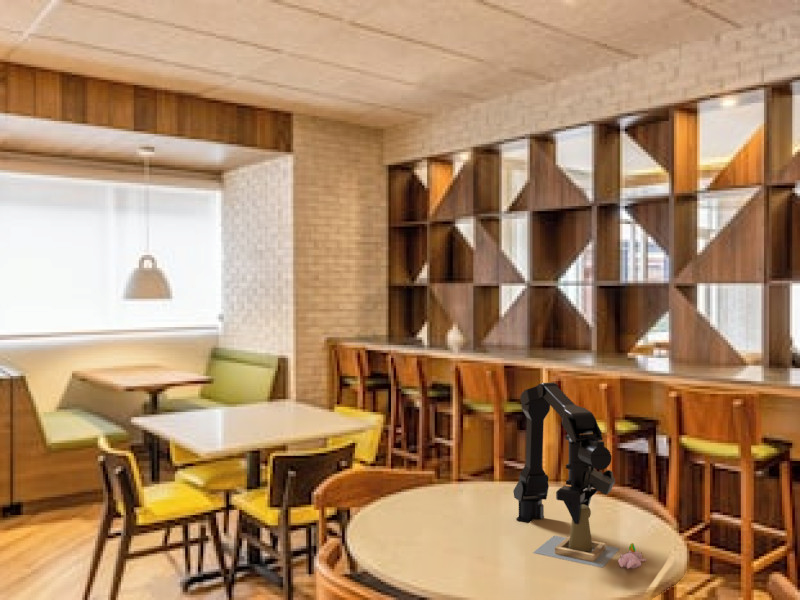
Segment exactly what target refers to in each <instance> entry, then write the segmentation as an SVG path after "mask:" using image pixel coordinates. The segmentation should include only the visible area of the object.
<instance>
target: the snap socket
mask: <svg viewBox="0 0 800 600" xmlns="http://www.w3.org/2000/svg"><path fill="white" fill-rule="evenodd" d="M565 538H566V539H564V540H563V541H562V542H561V543H560V544H559V545H557V546H556V547H555V554H559V555H564V556H569V557H574V558H578V559H583V560H588V561H593V562H594V561H595V560H596V559H597V558H598V557H599V556H600V555H601V553H602V552H603V551H604V550H605V549H606V546H607V544H606V542H601V541H595V540H592V547H593V548H594V550H593V551H592V552H591V553H587V552H582V551H577V550H573V549H568V548H567V547H568V546H569V539H570V535H568V536H567V537H565Z"/></svg>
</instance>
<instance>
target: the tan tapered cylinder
mask: <svg viewBox="0 0 800 600" xmlns="http://www.w3.org/2000/svg"><path fill="white" fill-rule="evenodd" d="M591 515H592V510H591V508H590V506H589V507H588V506H587V505H584V504H582V507H581V514H580V520H579V524H575V523H574V521H573V519H572V518H571V523H570V524H571V525H570V533H569V536H570V539H569V548H570V549H573V550H577V551H582V552H589V551H591V550H592V549H593V547H592V541H593V540H592V534H591V533H592V532H591V528H590V527H591V526H590V517H591Z"/></svg>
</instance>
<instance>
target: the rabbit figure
mask: <svg viewBox="0 0 800 600" xmlns="http://www.w3.org/2000/svg"><path fill="white" fill-rule="evenodd" d="M634 544H635V543H633V542H632V543H631V544H630V545H629V547H628V552H627V553H625V554H620V558H619V559H618V564H619V566H620V568H623V567H624V568H626V569H636V568H639V567H641V566H642V562H646V561H647V558H643V551H640V552H639V551H636V547H635V545H634Z"/></svg>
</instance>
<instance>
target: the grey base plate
mask: <svg viewBox="0 0 800 600" xmlns="http://www.w3.org/2000/svg"><path fill="white" fill-rule="evenodd" d="M566 538H567V537H563V536H558V535H552V537H550V538H549V539H548V540H546V541H545V542H544V543H543V544H541V545H540V546H539V547H538V548H536V549H535V550H534V551H533V552H532V554H536V555H541V556H546V557H550V558H553V559H559V560H564V561H567V562H568V561H570V562H574V563H578V564H582V565H587V566H592V567H595V568H604V567H605V566H606V565H607V564H608V562H610V560H611V559H612V558H613V557H614V556H615V554H617V552H618V551H620V549H621V548H620V547H615V546H610V545H606V549H605V550H604V551H603V552H602V553H601V555H600V556H599V557H598V558H597V559H596V560H595V561H594V562H593V561H588V560H583V559H578V558H574V557H569V556H564V555H559V554H555V547H556V546H557V545H559V544H560V543H561V542H562V541H563V540H564V539H566ZM567 548H568V549H570V548H569V546H568V547H567ZM593 550H594V548H593V549H592V550H591V551H589V552H587V553H591V552H592V551H593Z"/></svg>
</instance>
